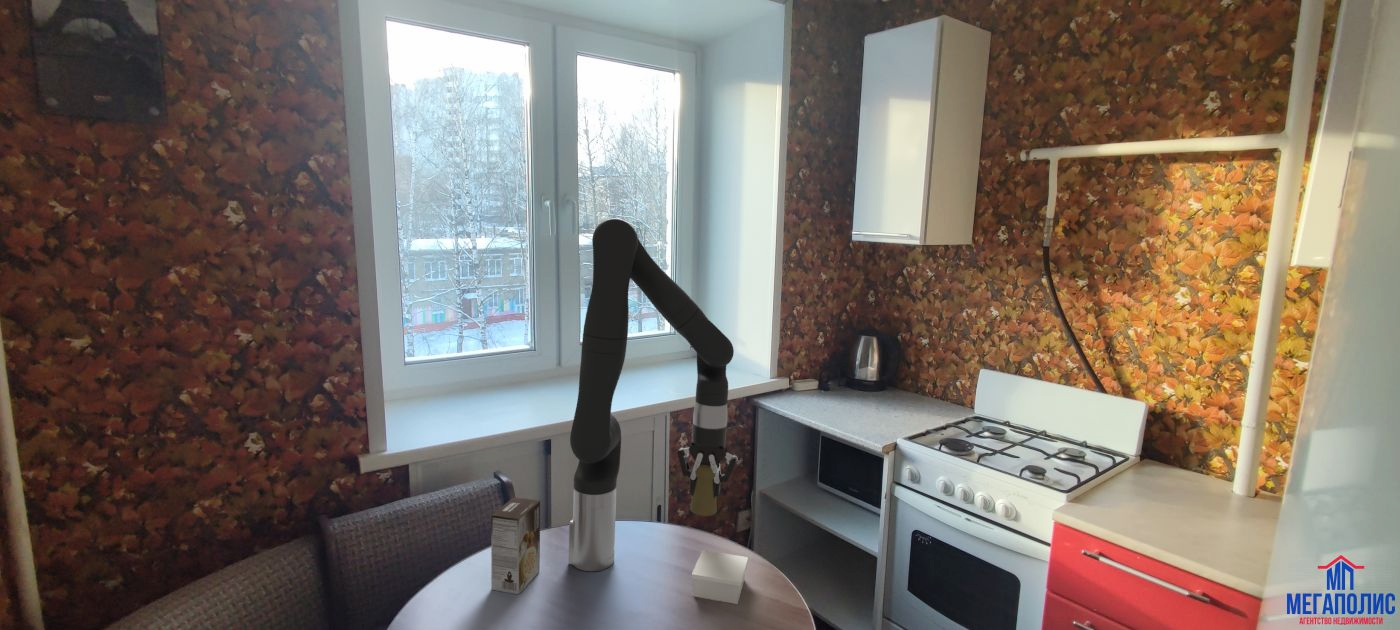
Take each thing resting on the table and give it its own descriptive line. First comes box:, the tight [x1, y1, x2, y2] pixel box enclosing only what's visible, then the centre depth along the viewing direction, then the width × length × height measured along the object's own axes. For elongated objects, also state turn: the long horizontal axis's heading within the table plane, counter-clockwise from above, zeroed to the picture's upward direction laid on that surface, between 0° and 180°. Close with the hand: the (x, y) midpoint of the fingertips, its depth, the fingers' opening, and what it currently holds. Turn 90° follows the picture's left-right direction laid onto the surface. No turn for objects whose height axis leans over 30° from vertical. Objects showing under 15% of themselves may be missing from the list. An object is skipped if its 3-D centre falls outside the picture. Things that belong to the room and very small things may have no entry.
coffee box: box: [490, 497, 541, 595], centre depth 125 cm, size 9×6×16 cm
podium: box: [691, 549, 749, 605], centre depth 127 cm, size 10×10×5 cm
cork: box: [689, 464, 718, 517], centre depth 137 cm, size 6×6×11 cm
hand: (704, 495), depth 137 cm, fingers closed on cork, 4 cm apart
